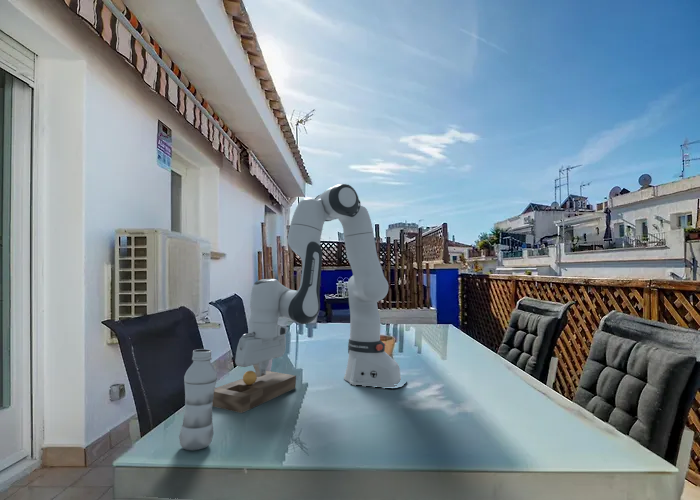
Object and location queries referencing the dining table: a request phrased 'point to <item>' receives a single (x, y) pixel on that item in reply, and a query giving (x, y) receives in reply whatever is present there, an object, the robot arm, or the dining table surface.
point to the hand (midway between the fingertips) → (260, 376)
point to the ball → (249, 377)
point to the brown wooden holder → (252, 391)
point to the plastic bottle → (198, 402)
